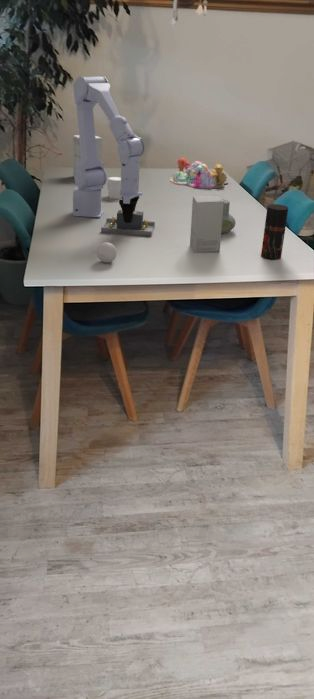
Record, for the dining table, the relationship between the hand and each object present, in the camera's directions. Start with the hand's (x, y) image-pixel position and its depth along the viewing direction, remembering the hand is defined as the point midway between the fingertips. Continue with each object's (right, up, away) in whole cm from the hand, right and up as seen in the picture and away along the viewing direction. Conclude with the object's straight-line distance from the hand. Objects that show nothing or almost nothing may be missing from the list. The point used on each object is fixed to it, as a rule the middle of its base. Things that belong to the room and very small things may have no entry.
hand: (128, 220), depth 207 cm
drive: (0, -2, +1) cm, 2 cm away
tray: (0, -3, +1) cm, 3 cm away
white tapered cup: (-7, +16, +37) cm, 41 cm away
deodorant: (+43, -14, -15) cm, 48 cm away
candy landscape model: (+27, +29, +67) cm, 78 cm away
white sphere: (-6, -17, -27) cm, 32 cm away
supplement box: (-20, +30, +62) cm, 72 cm away
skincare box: (+23, -11, -12) cm, 29 cm away
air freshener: (+29, -3, +5) cm, 30 cm away
